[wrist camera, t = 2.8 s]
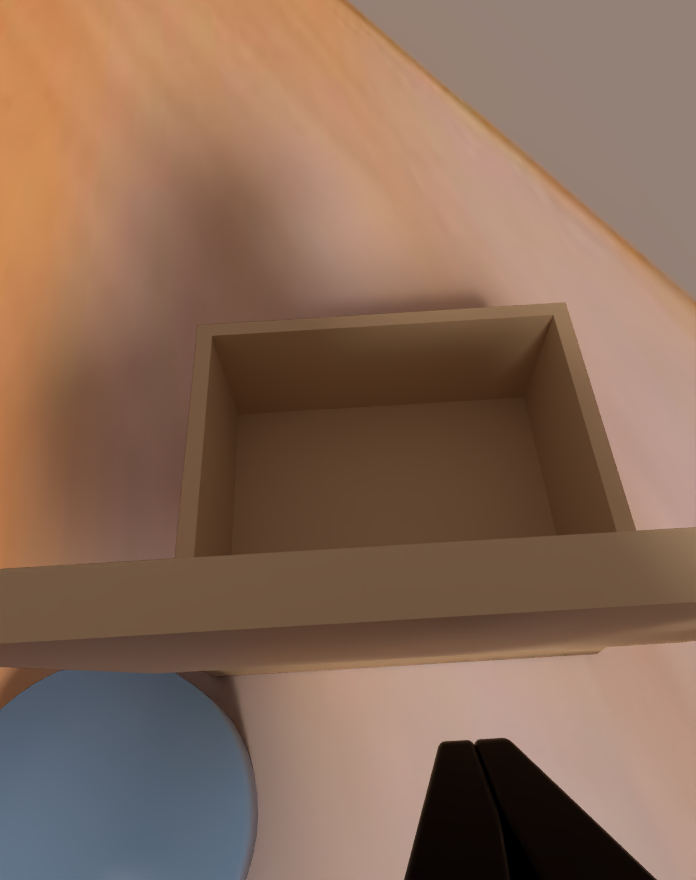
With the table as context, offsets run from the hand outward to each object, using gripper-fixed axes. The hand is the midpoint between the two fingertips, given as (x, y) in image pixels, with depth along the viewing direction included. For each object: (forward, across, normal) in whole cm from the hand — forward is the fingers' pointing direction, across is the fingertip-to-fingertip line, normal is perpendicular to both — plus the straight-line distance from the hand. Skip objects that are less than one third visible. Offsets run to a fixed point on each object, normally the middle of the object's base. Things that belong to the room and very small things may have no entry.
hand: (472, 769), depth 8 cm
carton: (+14, 0, +2) cm, 14 cm away
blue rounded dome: (+8, +8, +9) cm, 15 cm away
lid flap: (+2, 0, -1) cm, 3 cm away
